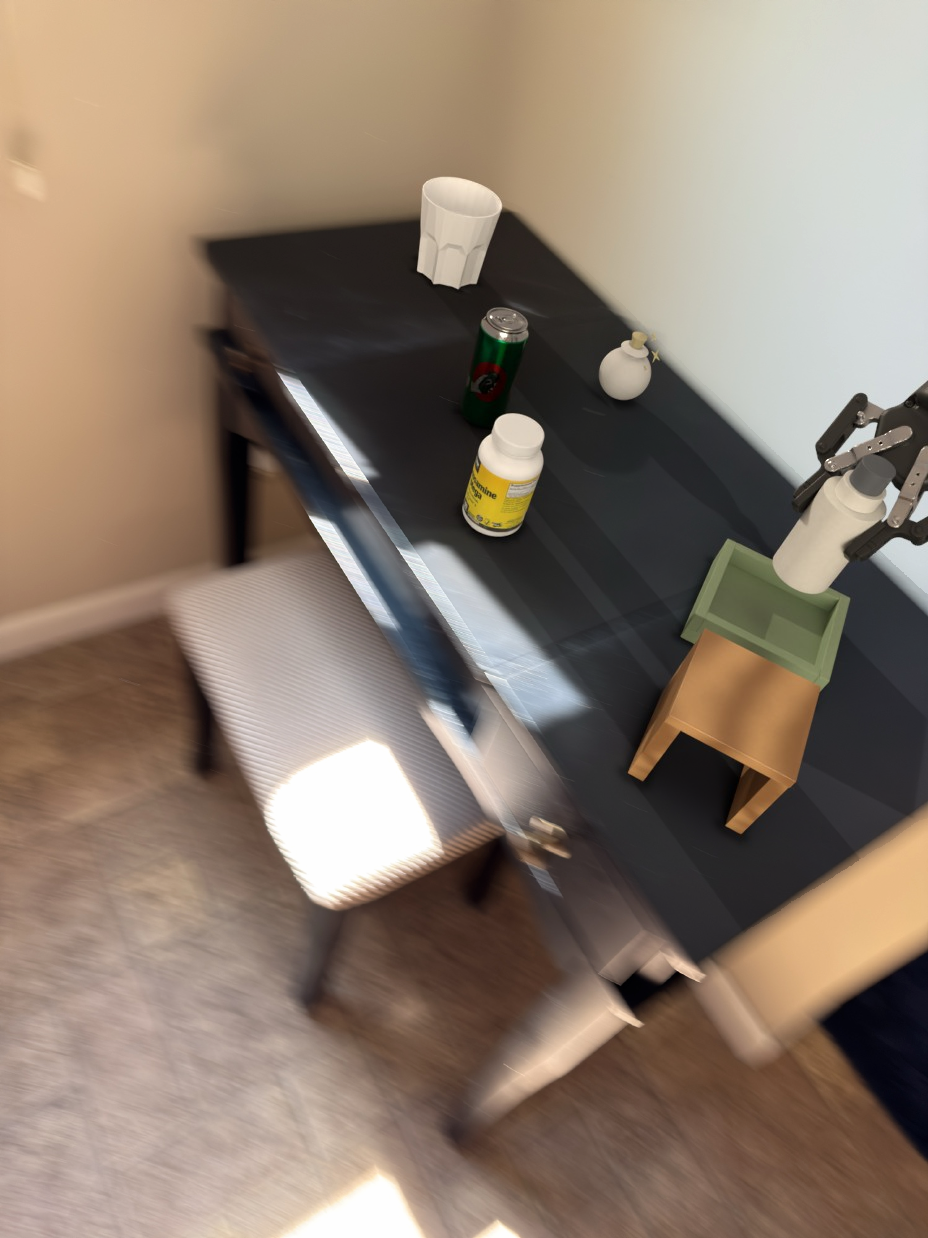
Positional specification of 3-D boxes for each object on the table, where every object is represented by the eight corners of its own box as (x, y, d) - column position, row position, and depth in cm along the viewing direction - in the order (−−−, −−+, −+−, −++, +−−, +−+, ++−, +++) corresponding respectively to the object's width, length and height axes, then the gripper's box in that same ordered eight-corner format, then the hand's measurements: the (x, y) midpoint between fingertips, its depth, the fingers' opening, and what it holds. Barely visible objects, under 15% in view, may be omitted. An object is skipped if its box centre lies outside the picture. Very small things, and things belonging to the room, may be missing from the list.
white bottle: (834, 566, 79) (915, 462, 70) (823, 603, 76) (908, 499, 66) (779, 540, 80) (852, 434, 70) (766, 575, 76) (841, 468, 67)
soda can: (510, 427, 96) (539, 332, 87) (468, 431, 94) (494, 335, 85) (493, 398, 99) (519, 304, 90) (452, 402, 97) (475, 305, 88)
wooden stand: (767, 745, 75) (821, 686, 68) (740, 836, 69) (796, 781, 62) (662, 690, 77) (705, 627, 70) (626, 775, 70) (669, 714, 63)
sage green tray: (832, 620, 87) (850, 597, 84) (809, 703, 79) (829, 681, 77) (713, 561, 89) (727, 537, 86) (680, 637, 81) (695, 613, 78)
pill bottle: (451, 500, 86) (474, 410, 78) (504, 491, 89) (533, 403, 81) (477, 544, 83) (504, 456, 75) (532, 533, 86) (564, 447, 78)
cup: (444, 299, 110) (460, 223, 102) (394, 259, 114) (406, 183, 106) (499, 282, 115) (518, 209, 108) (450, 244, 119) (464, 171, 112)
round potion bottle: (624, 377, 107) (654, 304, 100) (655, 415, 103) (688, 342, 96) (583, 380, 105) (610, 306, 97) (612, 420, 101) (643, 346, 93)
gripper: (922, 313, 69) (755, 461, 73) (1075, 424, 63) (884, 581, 66) (920, 358, 76) (767, 492, 79) (1058, 463, 69) (885, 604, 73)
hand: (821, 532), depth 73 cm, fingers closed on white bottle, 5 cm apart
